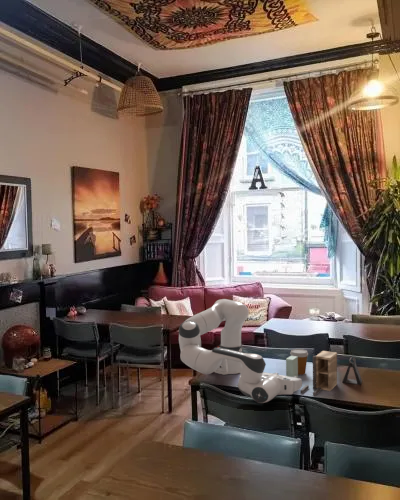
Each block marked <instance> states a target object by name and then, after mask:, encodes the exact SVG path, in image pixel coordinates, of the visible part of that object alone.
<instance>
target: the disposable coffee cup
mask: <svg viewBox="0 0 400 500" xmlns="http://www.w3.org/2000/svg"><path fill="white" fill-rule="evenodd" d="M289 354H290V356H297V357H298V376H299V375H300V376H302V375H303V376H304V375H305V374H306V371H307V370H306V369H307V360H308V356H309V353H308V350H307V349H302V348H294V349H291V350H290V353H289Z"/></svg>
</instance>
